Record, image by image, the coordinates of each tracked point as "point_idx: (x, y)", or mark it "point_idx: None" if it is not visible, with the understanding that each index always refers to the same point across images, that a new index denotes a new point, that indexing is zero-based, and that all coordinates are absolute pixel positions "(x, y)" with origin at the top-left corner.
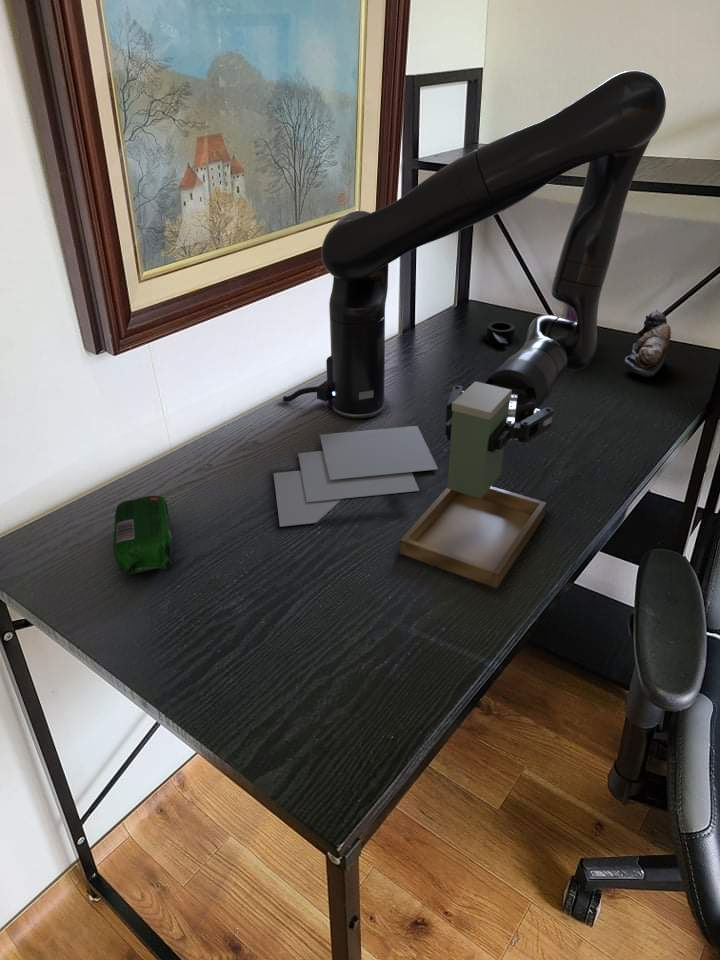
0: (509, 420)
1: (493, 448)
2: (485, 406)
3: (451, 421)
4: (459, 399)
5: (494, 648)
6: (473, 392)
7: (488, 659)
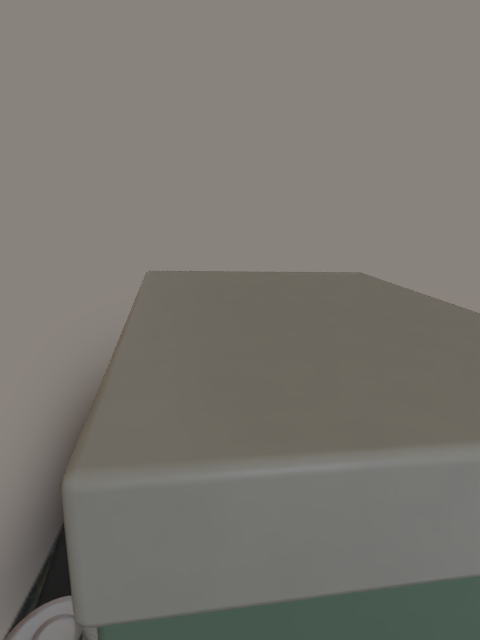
0: (58, 624)
1: None
2: (202, 281)
3: None
4: (372, 282)
5: (39, 585)
6: (409, 311)
7: (47, 560)
